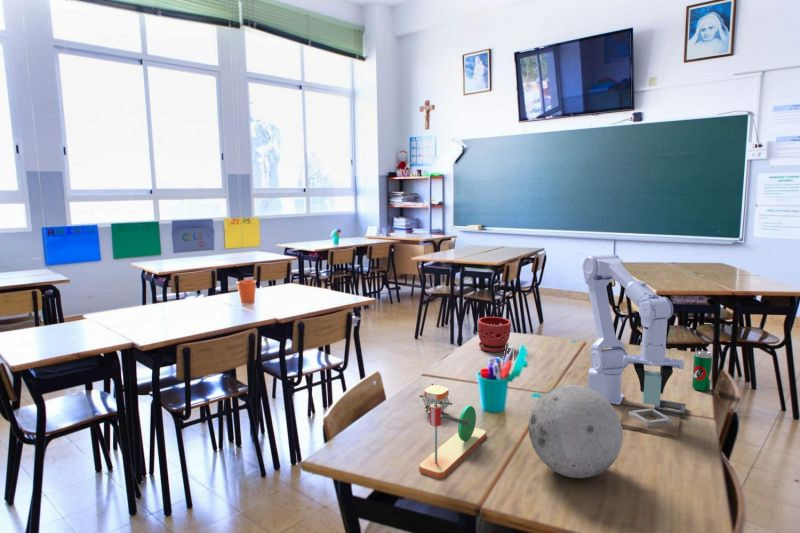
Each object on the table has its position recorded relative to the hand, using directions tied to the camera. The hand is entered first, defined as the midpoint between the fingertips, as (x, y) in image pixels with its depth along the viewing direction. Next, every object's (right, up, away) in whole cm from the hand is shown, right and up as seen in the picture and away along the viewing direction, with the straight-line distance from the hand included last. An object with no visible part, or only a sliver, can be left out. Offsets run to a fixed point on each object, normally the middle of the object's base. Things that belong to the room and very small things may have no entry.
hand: (651, 391), depth 141 cm
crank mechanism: (-54, -12, -12) cm, 57 cm away
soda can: (+28, -5, +25) cm, 38 cm away
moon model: (-28, -13, -22) cm, 38 cm away
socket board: (0, -9, +1) cm, 9 cm away
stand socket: (+10, -8, +9) cm, 16 cm away
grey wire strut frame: (-57, -9, +11) cm, 59 cm away
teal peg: (0, -3, +1) cm, 3 cm away
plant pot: (-30, 0, +71) cm, 77 cm away
